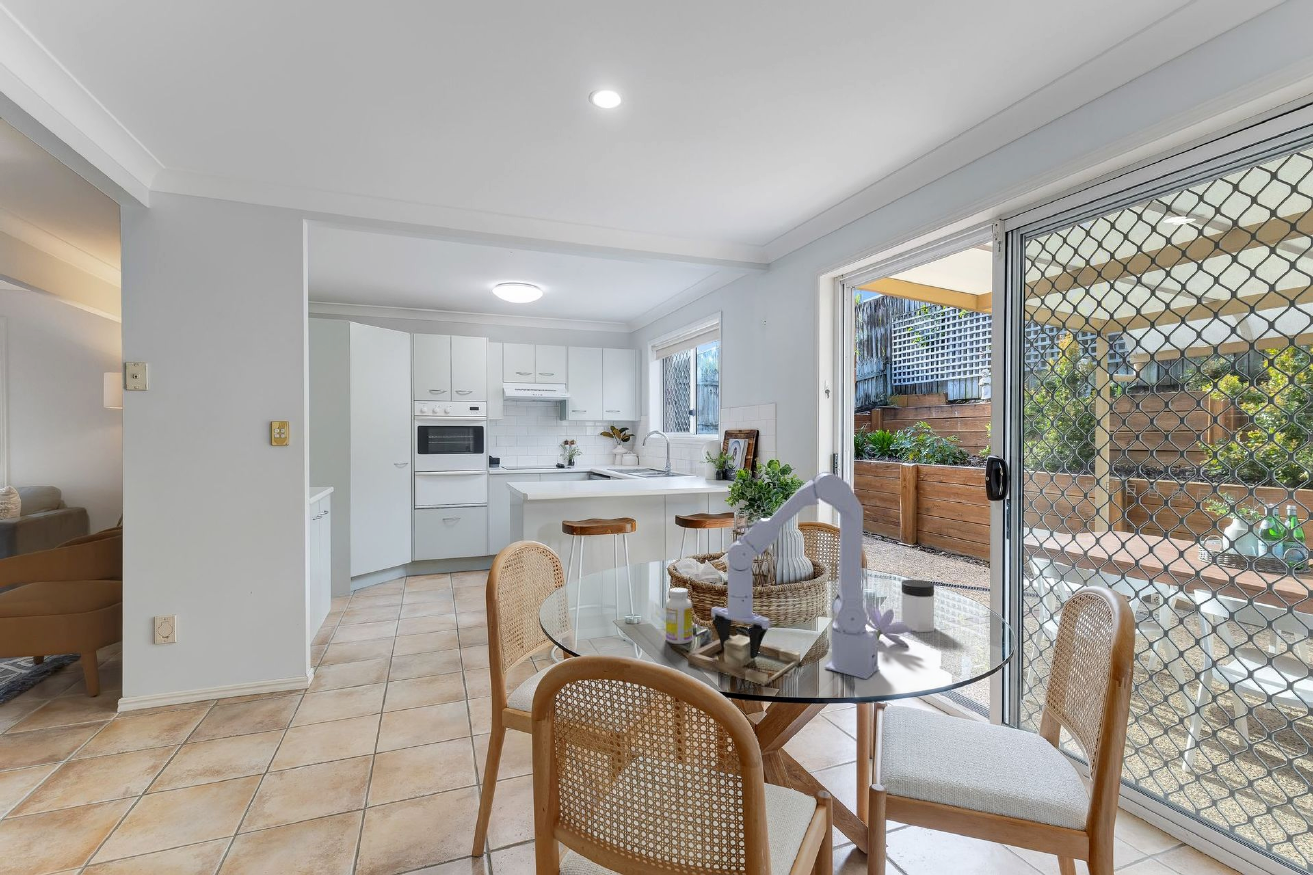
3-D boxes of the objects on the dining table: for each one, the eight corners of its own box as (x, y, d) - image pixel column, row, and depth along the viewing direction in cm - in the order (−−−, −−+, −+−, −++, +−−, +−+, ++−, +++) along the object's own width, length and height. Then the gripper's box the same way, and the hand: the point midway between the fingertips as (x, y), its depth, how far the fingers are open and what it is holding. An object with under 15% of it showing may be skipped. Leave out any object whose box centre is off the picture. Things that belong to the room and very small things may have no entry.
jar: (940, 628, 162) (941, 584, 162) (926, 635, 157) (926, 589, 157) (909, 620, 169) (909, 577, 169) (893, 626, 164) (894, 582, 163)
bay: (800, 661, 138) (800, 653, 138) (764, 686, 125) (764, 676, 125) (727, 642, 151) (727, 634, 151) (688, 662, 137) (688, 654, 137)
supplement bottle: (690, 635, 155) (691, 586, 155) (693, 644, 149) (693, 593, 149) (664, 635, 155) (665, 586, 155) (666, 645, 149) (666, 593, 148)
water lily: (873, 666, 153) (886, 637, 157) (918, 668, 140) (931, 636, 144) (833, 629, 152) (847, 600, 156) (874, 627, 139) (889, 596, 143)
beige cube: (755, 659, 140) (755, 638, 140) (741, 668, 135) (741, 646, 135) (738, 655, 143) (738, 634, 142) (723, 663, 137) (723, 641, 137)
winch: (704, 641, 151) (704, 619, 151) (714, 643, 149) (714, 622, 149) (688, 649, 146) (688, 627, 146) (698, 652, 144) (698, 629, 144)
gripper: (776, 596, 137) (776, 655, 137) (722, 585, 146) (722, 641, 146) (761, 603, 131) (761, 664, 132) (706, 591, 141) (705, 649, 141)
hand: (739, 653), depth 139 cm, fingers open, 7 cm apart
